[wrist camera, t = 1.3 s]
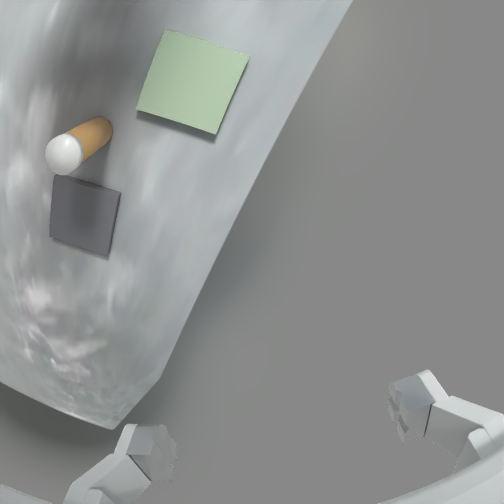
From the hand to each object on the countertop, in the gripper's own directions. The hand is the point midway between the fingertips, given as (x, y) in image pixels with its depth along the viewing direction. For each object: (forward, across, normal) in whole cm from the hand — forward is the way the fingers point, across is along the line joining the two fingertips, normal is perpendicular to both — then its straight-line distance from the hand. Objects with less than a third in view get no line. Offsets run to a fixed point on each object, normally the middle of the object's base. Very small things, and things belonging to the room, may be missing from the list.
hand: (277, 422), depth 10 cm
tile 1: (+44, +31, -7) cm, 54 cm away
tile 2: (+39, +5, -22) cm, 45 cm away
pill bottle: (+40, +22, -19) cm, 49 cm away
